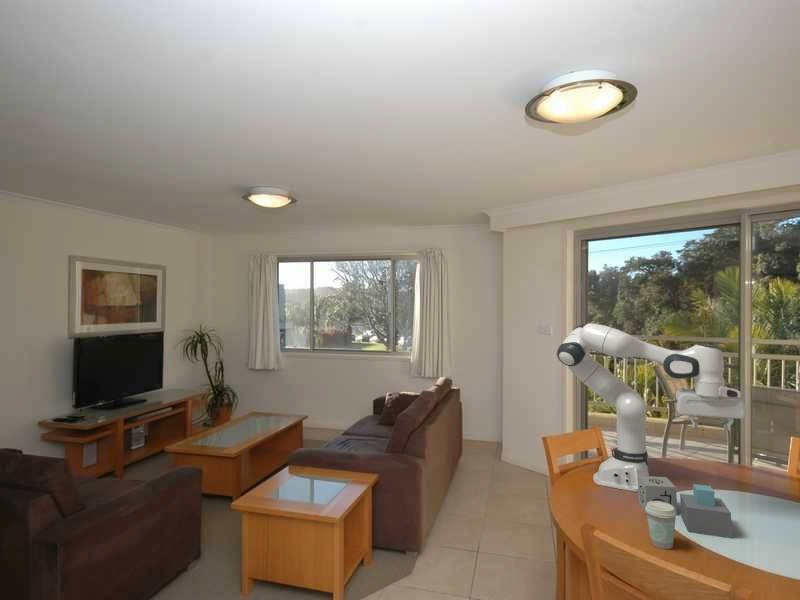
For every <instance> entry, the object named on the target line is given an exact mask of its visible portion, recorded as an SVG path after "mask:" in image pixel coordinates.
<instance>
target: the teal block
mask: <svg viewBox="0 0 800 600" xmlns="http://www.w3.org/2000/svg"><path fill="white" fill-rule="evenodd" d="M692 491H693V492H692V493H693V495H694V500H695V502H696V504H697V505H703V506H712V507H715V498H716V497H715V490H714V489H713V488H712V486H711V485H703V484H694V483H693V484H692Z"/></svg>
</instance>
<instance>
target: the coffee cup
mask: <svg viewBox="0 0 800 600" xmlns="http://www.w3.org/2000/svg"><path fill="white" fill-rule="evenodd" d="M645 510H646V512H647V513H646V512H645V513H646V518H647V523H648V530H649V536H650V543H651V544H652V545H653V546H655V548H659V549H662V550H671V549H673V548H674V540H675V528H676V517H678V513H677V514H676V511H675V508H674V507H673V506H672V505H670V504H668V503H665V502H661V501H650V502H648V503H647V505H646V508H645Z"/></svg>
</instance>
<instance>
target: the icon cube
mask: <svg viewBox="0 0 800 600" xmlns="http://www.w3.org/2000/svg"><path fill="white" fill-rule="evenodd" d="M637 478H638V491H637V499H638V504H639V505H640V506H641V508H642V509H643V511H644V512H645V514H647V512H646V510H645V508H646V505H647V503H648V502H650V501H661V502H665V503H668V504H670V505H672V506H673V507H674V508H675V511H676V514H677V515H678V503H677V502H678V501H677V500H678V499H677V498H678V497H677V487H676V485H674V484H673V482H672V481H670V479H669V478H668V477H666V476H653V475H652V476H651V475H649V476H637Z"/></svg>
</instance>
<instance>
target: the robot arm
mask: <svg viewBox="0 0 800 600" xmlns="http://www.w3.org/2000/svg"><path fill="white" fill-rule="evenodd" d="M591 351H597V352H599V353H602V354H604V355H607V356H609V357H614V358H615V357H616V358H622V359H623V358H624V359H625V358H642V359H646V360H649V361H652V362H655V363H659V364H661V365H662V367H663V370H664V372H665V373H666V375H668V376H669V377H671V378H674V379H675V380H676V379H677V380H684V379H690V378H691V379H694V381H693V382H694V383H693V384H694V385H693V387H694V388H679V389H678V390H676V391H675V399H676V401H677V402H676V412H677V413H678V414H679V415H681V416H687V417H688V419H689V420H690V422H691V427H692V428H693V429H698V428H699V427H698V426H699V423H698V422H695V421H694V420H693V419H694V418H695V417H696V416H697V417H709V418H710V417H711V418H724V419H725V418H726V419H727V420H728V421H727V422H726V424H723V430H724V431H727V432H728V431H729V432H730V431H731V426H732V425H733V424H734V421H735V420H734V419H739V420H740V419H741V420H743V419H745V418H746V417H747V408H746V405H745V401H744V400H743V399H742V398H741V397H742V392H741V391H740V390H738V389H736V388H733V387H730V386H726V385H725V380H724V379H725V378H724V371H725V365H724V363H725V362H724V356H723V352H722V350H721V349H720V348H719V347H717V346H716V345H712V344H708V343H696V344H694V345H692V346H691V347H689V348H687V349H676V350H675V349H670V348H667V347H663V346H659V345H656V344H653V343H650V342H647V341H644V340H641V339H640V338H637V337H635V336H633V335H631V334H630V333H627V332H624V331H622V330H620V329H617V328H615V327H610V326H607V325H603V324H599V323H594V322H593V323H590V322H589V323H586V324H580V325H577V326H576V327H574V328H573V329H572V330H571V331H570V332H569V334H568V335H566V336H565V339H564V340H563V341H562V343H561V344H560V345H559V346H558V348H557V351H556V357H557V359H558V360H559V361H560V362H561V363H562V364H563V365H565V366H567V368H568V369H569V370H570V371H571V372H570V373H572V374H573V375H574V376H575V377H576V378H577V379H579V380H580V381H581V382H582V383H583V384H584V385H585V386H586V387H587V388H589V389H590V390H591V391H593V393H595V394H596V395H597V396H600V397H601V398H602V399H603V400H605V401H607V402H608V403H609V404H610V405H612V406H613V407H614V408H615V409H616V410H615V411H616V430H615V431H616V447H615V446H611V447H610V452H611V455H612V456H611V457H609V458H607V459H606V460H604V461H602V462H601V463H600V464H599V467H598V471H597V472H595V473H594V474H593V476H592V477H593V478H592V479H593V482H594V483H595V484H596V485H597V486H603V487H608V488H614V489H620V490H624V491H629V492H637V493H638V478H637V476H650V473H649V468H648V466H649V464H648V463H649V453H648V450H647V441H646V439H647V437H646V430H647V429H646V427H647V405H646V403H645V400H644V399H643V397H642V396H641V395H640V394H639V393H638V391H636V390H635V389H634V388H632V387H631V386H629V385H628V384H627V383H626V382H624V381H623V380H622V379H620V378H619V377H618V376H616V375H615V374H613V373H612V372H611V371H610V370H609V369H607V368H605V366H603V365H602V364H601V363H600V362H598V360H595V358H593V357H592V355H591ZM694 416H695V417H694Z"/></svg>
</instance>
